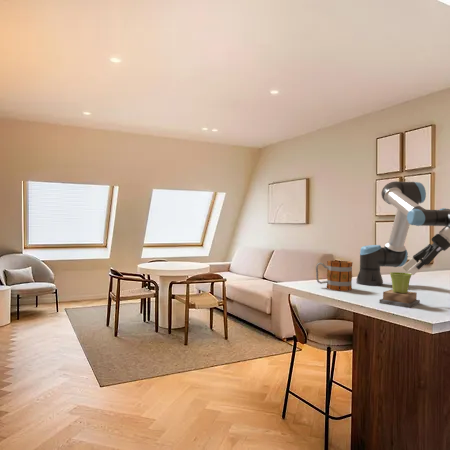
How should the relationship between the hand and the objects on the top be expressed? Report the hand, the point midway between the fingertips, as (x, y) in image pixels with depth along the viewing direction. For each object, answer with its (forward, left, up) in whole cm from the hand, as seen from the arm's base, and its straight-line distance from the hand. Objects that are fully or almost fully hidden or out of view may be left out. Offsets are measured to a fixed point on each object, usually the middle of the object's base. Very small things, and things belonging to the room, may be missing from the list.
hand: (407, 271), depth 176 cm
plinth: (-3, -1, -15) cm, 15 cm away
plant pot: (-3, -1, -10) cm, 10 cm away
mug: (-43, +12, -15) cm, 47 cm away
